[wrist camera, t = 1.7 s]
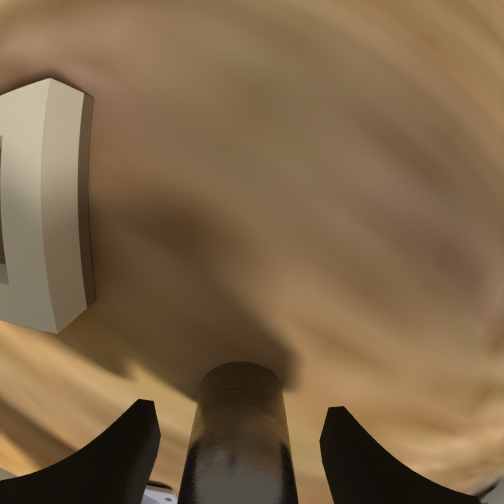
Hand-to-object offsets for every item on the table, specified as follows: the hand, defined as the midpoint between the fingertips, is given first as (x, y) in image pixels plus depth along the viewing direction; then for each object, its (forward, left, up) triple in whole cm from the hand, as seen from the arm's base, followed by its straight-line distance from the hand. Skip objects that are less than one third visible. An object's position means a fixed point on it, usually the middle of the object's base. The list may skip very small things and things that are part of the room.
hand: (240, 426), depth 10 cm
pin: (0, 0, -2) cm, 2 cm away
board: (+8, +15, -2) cm, 17 cm away
